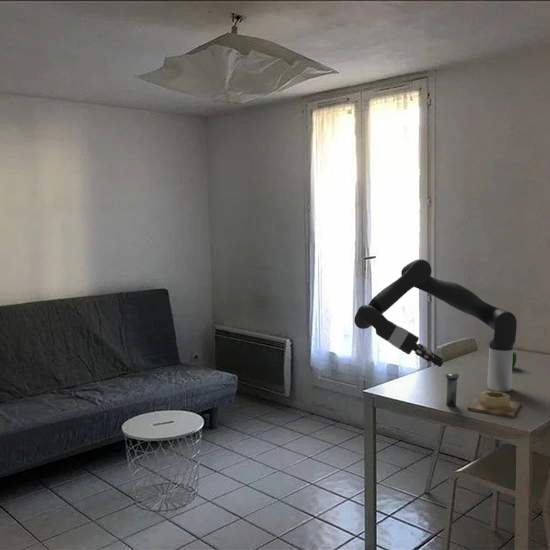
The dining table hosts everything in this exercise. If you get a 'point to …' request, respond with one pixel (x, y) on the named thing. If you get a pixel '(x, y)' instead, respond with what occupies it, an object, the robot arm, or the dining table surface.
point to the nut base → (493, 411)
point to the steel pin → (451, 389)
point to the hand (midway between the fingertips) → (441, 363)
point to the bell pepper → (513, 360)
